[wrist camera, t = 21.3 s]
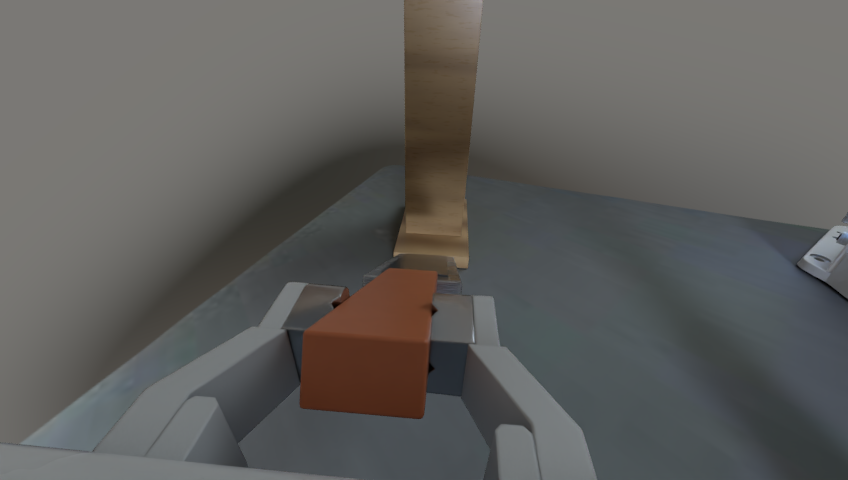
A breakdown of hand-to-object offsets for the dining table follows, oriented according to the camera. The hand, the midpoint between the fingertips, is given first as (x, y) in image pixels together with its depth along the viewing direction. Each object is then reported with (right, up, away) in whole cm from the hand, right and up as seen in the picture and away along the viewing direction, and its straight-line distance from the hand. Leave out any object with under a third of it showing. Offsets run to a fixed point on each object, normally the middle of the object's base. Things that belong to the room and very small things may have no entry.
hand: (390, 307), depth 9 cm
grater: (0, -1, +8) cm, 8 cm away
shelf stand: (+2, +3, +35) cm, 35 cm away
